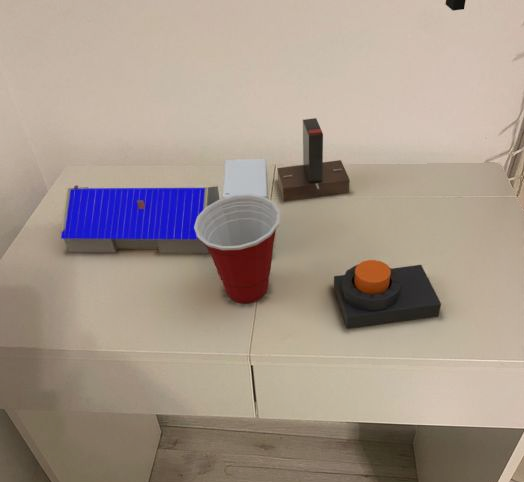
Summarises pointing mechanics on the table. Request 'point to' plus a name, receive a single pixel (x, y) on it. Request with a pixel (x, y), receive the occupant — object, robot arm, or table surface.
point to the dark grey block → (312, 150)
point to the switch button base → (387, 298)
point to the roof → (134, 218)
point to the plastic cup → (240, 243)
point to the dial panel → (299, 187)
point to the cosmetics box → (245, 177)
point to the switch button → (372, 277)
